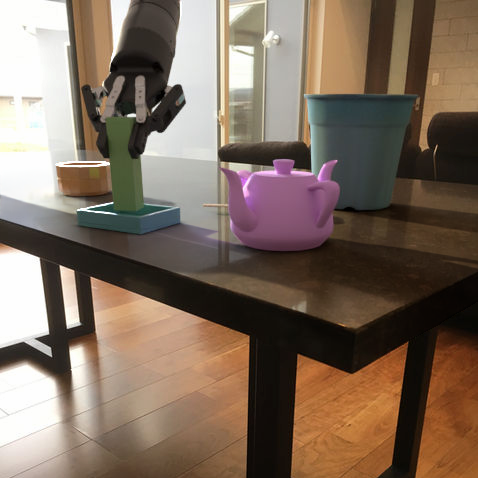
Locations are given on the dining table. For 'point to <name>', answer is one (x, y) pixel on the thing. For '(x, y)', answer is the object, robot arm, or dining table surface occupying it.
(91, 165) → the bowl
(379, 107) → the flower pot
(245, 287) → the dining table surface
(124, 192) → the block
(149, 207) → the tray
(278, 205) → the teapot
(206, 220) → the dining table surface
